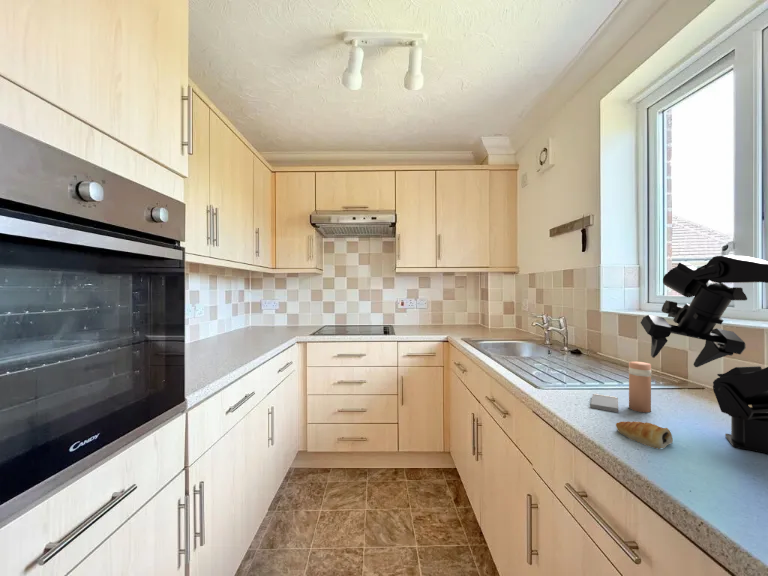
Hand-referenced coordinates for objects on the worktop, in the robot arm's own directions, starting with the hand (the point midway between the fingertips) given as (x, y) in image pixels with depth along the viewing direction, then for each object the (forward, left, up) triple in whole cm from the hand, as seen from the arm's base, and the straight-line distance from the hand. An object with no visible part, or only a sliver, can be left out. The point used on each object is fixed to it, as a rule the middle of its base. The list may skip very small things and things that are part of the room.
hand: (673, 361), depth 84 cm
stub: (+1, +7, -14) cm, 15 cm away
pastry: (-20, +7, -14) cm, 25 cm away
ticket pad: (0, +14, -14) cm, 20 cm away
